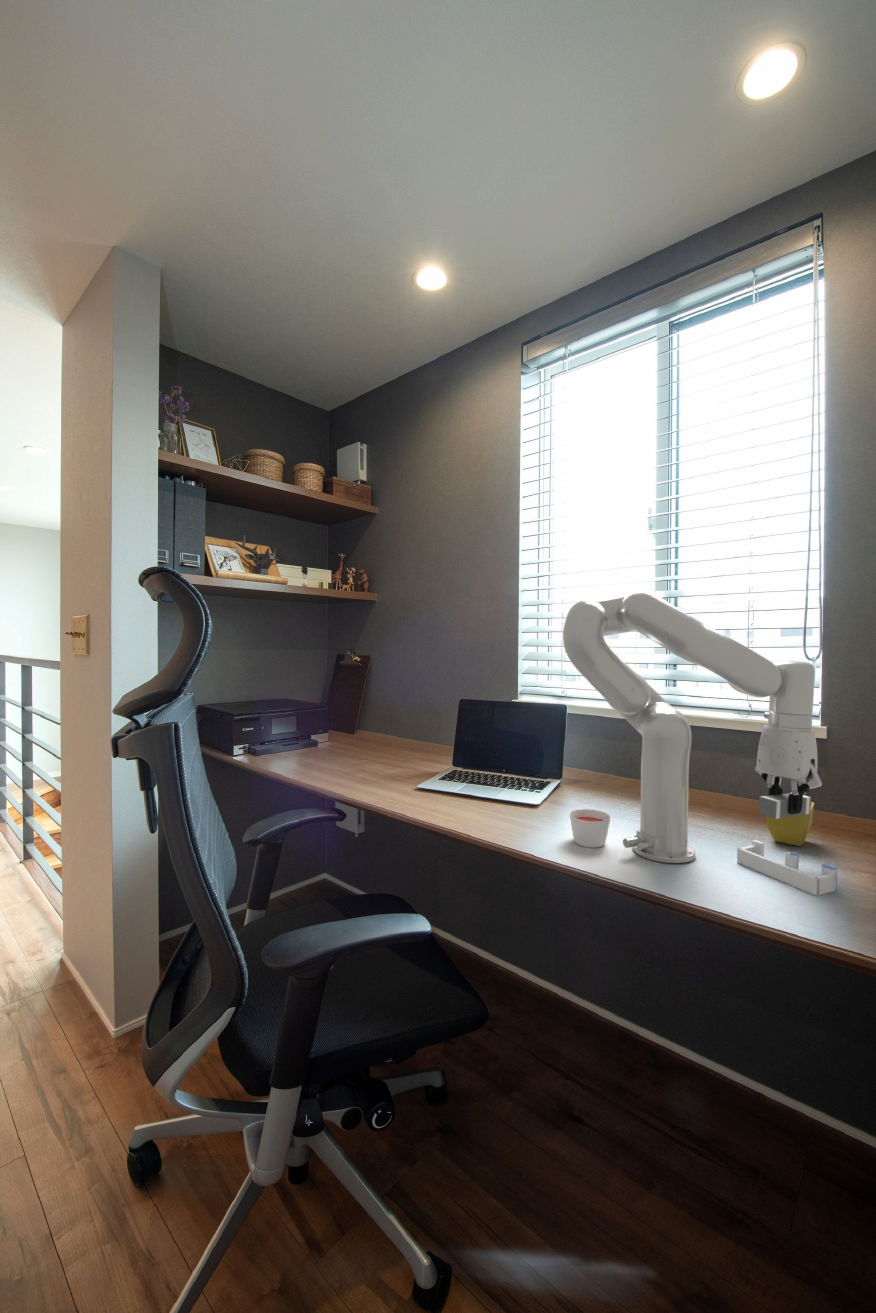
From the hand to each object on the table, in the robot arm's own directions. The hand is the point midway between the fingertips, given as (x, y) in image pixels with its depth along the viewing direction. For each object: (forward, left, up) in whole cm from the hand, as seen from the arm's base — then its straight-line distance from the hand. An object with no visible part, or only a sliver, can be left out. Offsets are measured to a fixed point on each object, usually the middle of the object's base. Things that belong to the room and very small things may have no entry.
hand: (784, 809), depth 112 cm
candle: (-29, +25, -12) cm, 40 cm away
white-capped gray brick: (0, 0, -1) cm, 1 cm away
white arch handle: (-6, -4, -11) cm, 13 cm away
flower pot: (+14, +8, -12) cm, 20 cm away
